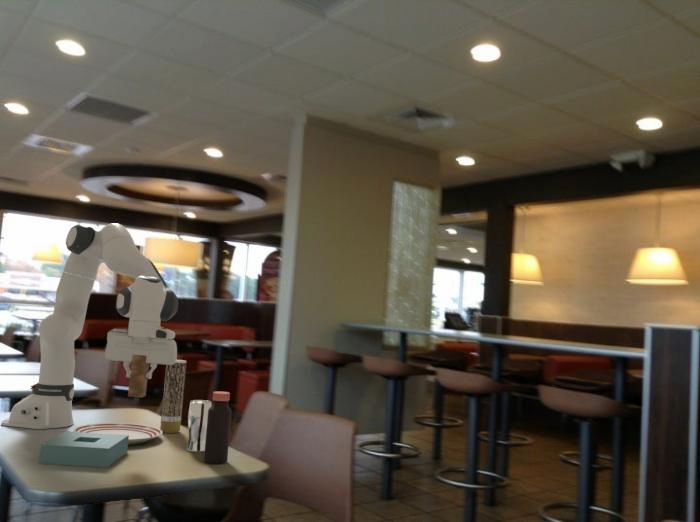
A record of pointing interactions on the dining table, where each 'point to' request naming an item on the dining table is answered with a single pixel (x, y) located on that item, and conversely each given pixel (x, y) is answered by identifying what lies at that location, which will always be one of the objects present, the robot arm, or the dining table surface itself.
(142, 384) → the walnut peg
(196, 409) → the silver drink can
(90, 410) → the dining table surface
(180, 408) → the paper tube
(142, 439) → the dinner plate
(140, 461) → the dining table surface
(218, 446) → the bottle
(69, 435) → the socket block
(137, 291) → the robot arm
